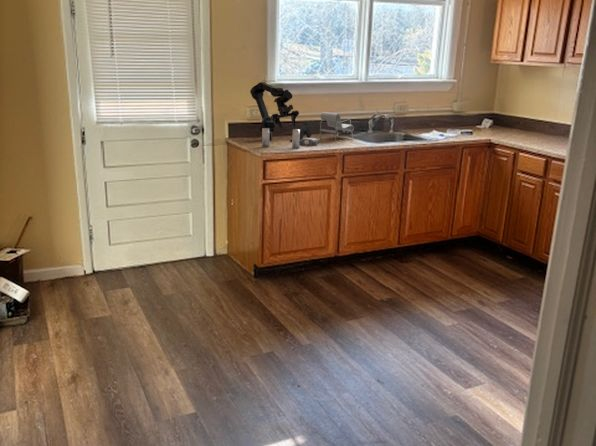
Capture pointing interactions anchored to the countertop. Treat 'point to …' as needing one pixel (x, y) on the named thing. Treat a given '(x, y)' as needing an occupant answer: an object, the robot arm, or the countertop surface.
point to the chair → (335, 123)
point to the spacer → (265, 137)
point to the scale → (309, 141)
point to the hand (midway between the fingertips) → (288, 127)
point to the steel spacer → (296, 138)
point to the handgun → (305, 131)
